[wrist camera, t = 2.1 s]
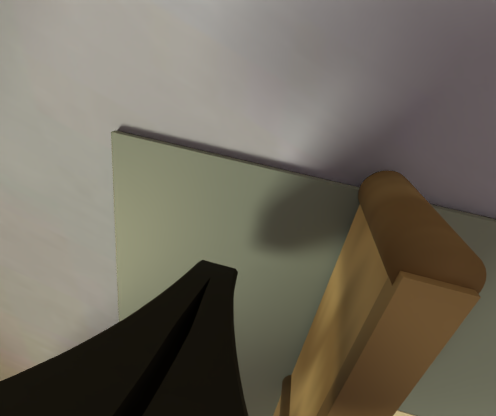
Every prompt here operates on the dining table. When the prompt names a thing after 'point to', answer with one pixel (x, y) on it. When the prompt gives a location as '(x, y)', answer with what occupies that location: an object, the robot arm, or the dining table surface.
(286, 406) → the fence fixed
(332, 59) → the dining table surface
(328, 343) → the fence panel
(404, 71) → the dining table surface
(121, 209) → the card
